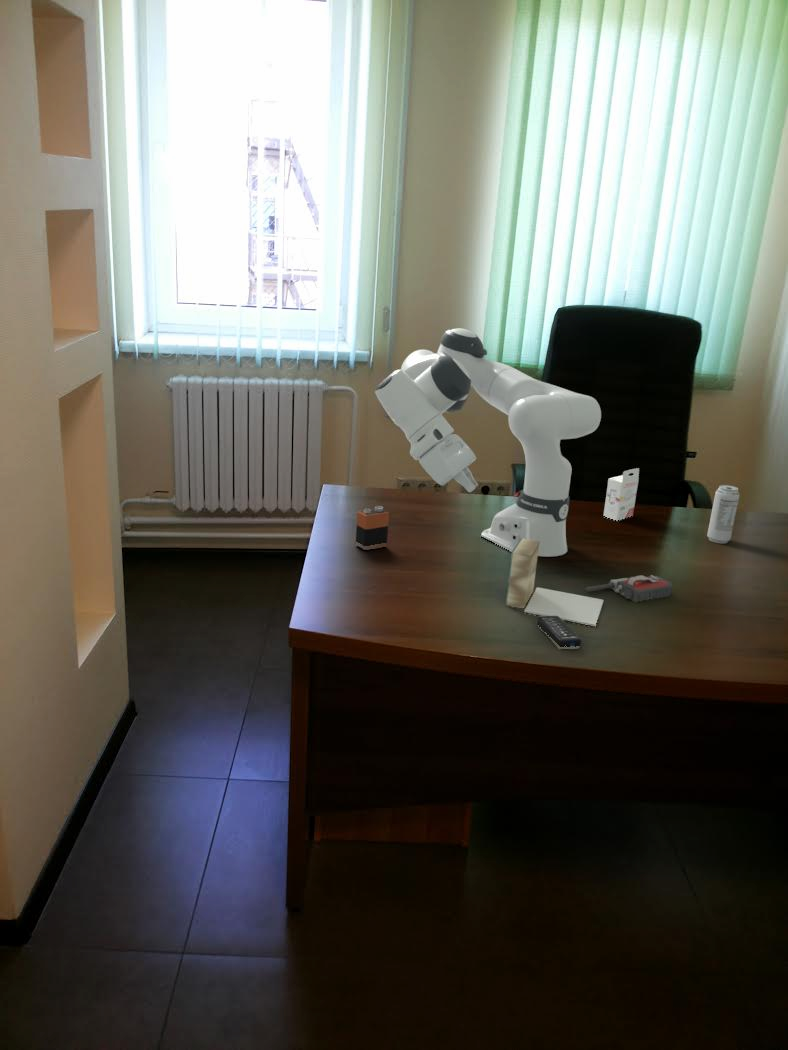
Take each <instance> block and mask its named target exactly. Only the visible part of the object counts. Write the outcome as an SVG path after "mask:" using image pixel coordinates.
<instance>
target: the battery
mask: <svg viewBox="0 0 788 1050" xmlns="http://www.w3.org/2000/svg"><path fill="white" fill-rule="evenodd" d="M389 517H390V513H389V512H388V511H386V510H384V507H383V506H382V505H376V506H374V508H372V509H370V508H364V510H359V511H357V512H356V531H355V543H356V542H358V543H360V544H362V545H363V546H370V545H375V544H381V543H387V544H388V537H389V536H388V535H389V534H388V533H389V521H390V518H389Z"/></svg>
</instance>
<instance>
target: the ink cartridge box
mask: <svg viewBox="0 0 788 1050" xmlns="http://www.w3.org/2000/svg"><path fill="white" fill-rule="evenodd" d="M630 474H633V475H630ZM639 474H640V468H639V467H638V468H637V467H636V468H632V469H628V470H624V471H623V472H622V474H621V475H618V476H613V477H610V478H608V480H607V488H606V495H605V496H606V497H605V501H604V509H603V516H605V517H607V518H606V519H608V518H610V519H609V520H611V519H613V520H612V521H615V520H616V522H619V521H623V520H625V518H626V519H629V518H632V517H634V512H635V510H634V509H635V504H636V499H637V498H636V497H637V491H638V486H639V479H640V478H639V476H640V475H639ZM631 516H632V517H631ZM605 517H604V518H605ZM628 517H629V518H628ZM622 519H623V520H622ZM618 520H619V521H618Z"/></svg>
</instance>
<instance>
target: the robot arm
mask: <svg viewBox="0 0 788 1050" xmlns="http://www.w3.org/2000/svg"><path fill="white" fill-rule="evenodd" d="M439 342H440V345H439V347H438V350H437V352H433V351H431V350H429V349H417V350H414V351H412V352H411V353H409V355H408V356H406V358H405V359H404V361H403V362H402V364H401V367H400V368H399V369H396V370H394V371H392V372H391V373H390V374H389V375H388V376H387V377H386V378H384V379H383V380H382V381H381V382H380V383H379V384H378V385H377V386H376V389H375V390H374V393H375V396H376V398H377V400H378V401H379V403H380V404H381V406H382V407H383V409H384V410H385V412H386V413H387V415H388V416H389V418H390V420H392V422H393V423H394V424H395V425H396V426H397V427H398V429H400V430H401V431H403V434H404V435H405V438H406V439H407V441H408V442H409V443H410V450H409V454H410V456H411V457H412V458H413V459H414V461H418V462H419V464H420V465H421V467H422V468H423V469H424V470H425V472H426V473H427V474H428V475H429V476H430V477H431V478H432V479H433V480H434V482H435V483H437V484H438V485H440V486H445V485H446V484H448V482H450V481H451V480H452V479H454V481H455V482H456V483H458V484H459V485H461V486H462V487H464V489H465V490H466V491H467V493H472V492H473V491H474V490H475V489H476V488H477V487H479V483H478V482H477V481H476V479H475V477H474V476H473V474H472V472H471V469H470V468H469V466H470V465H471V464H472V463H474V462H475V461H476V460H477V457H476V454H475V453H474V451H473V450H472V449H471V447H469V445H468V444H467V443H466V442H465V441H464V440H463V439H462V438H461V436H460V435H458V434H456V433H454V432H455V429H454V428H453V427H452V426H451V424H449V422H448V421H447V420H446V417H444V416H443V414H444V413H456V412H459V411H461V410H463V408H464V406H465V404H466V402H467V399H468V395H469V394H470V390H471V387H472V388H473V389H474V391H475V392H476V393H477V394H478V396H480V398H482V399H483V400H484V401H485V402H486V403H488V404H489V405H490V406H492V407H494V408H495V409H497V410H498V411H500V412H501V413H503V414H505V415H506V416H508V418H507V419H508V427H509V429H510V431H511V433H512V434H513V436H514V437H515V438H516V439H517V440H518V441H519V442H520V444H521V447H522V449H523V453H524V457H525V470H524V471H525V472H524V483H523V489H521V490H518V492H514V493H513V498H517V500H516V501H515V503H513V504H511V505H510V506H508V507H506V508H504V509H503V510H500V511H499V512H497V513H496V514H495V515H494V516H493V519H492V522H491V525H490V527H489V528H487V529H484V530H483V531H482V532H481V535H480V537H481V536H482V537H484V538H486V539H488V540H490V541H492V542H494V543H495V544H494V545H496V544H497V545H496V546H498V545H499V546H498V547H500V546H501V547H500V548H502V547H503V548H502V549H504V548H505V549H504V550H506V549H507V550H506V551H508V550H509V551H508V552H512V551H513V549H514V548H515V546H516V545H517V543H518V542H519V541H520V539H521V538H524V539H529V540H535V541H540V542H539V549H538V557H546V558H547V557H559V556H563V555H565V554H566V553H567V552H568V545H567V537H566V536H567V535H566V534H567V532H566V527H567V526H566V522H567V517H568V513H569V507H570V498H571V497H570V496H569V494H570V492H569V491H570V485H571V476H572V470H573V469H572V465H571V462H569V460H568V459H567V458H566V457H565V456H563V454H562V452H561V446H560V444H561V440H571V439H578V438H581V437H585V436H588V435H589V434H593V432H595V431H596V430H597V429H598V427H599V426H600V422H601V421H602V420H601V419H602V410H601V407H600V404H599V403H598V401H597V399H596V398H594V397H592V396H590V395H586V394H582V393H578V392H575V391H572V390H569V389H566V388H563V387H560V386H557V385H554V384H551V383H549V382H545V381H541V380H538V379H536V378H533V377H532V376H530V375H528V374H526V373H524V372H522V371H521V370H518V369H516V368H515V367H513V366H511V365H508V364H505V363H502V362H498V361H495V360H488V359H486V358H485V356H487V354H488V351H487V349H485V348H484V345H483V342H482V340H481V339H480V337H479V336H478V335H477V334H475V333H473V332H472V331H471V330H470V329H469V330H468V329H466V328H461V327H460V328H459V327H457V328H449V329H447V330H446V331H445V332H443V335H442V336H441V339H440V341H439ZM453 433H454V434H453Z"/></svg>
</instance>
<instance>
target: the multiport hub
mask: <svg viewBox="0 0 788 1050" xmlns="http://www.w3.org/2000/svg"><path fill="white" fill-rule="evenodd" d="M566 623H567V622H565V621H563V620H562V619H561V618H560V617H559V616H537V623H536V624H537V625H539V627H541V629H542V630H543V631H544V632H546V633H547V635H549V637H551V638H552V639H553V640H554V641H555V642H556V643H557V644H558V645H559V646H560V647H564V646H565V645H566V646H567V647H570V646H575V647H576V646H582V638H581V637H580V636H579V635H578V634H577V633H576V632H575V631H574V630H573V629H572V628H571V627H570V626H569V625H568V624H566ZM537 625H536V626H537ZM566 646H565V647H566Z"/></svg>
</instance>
